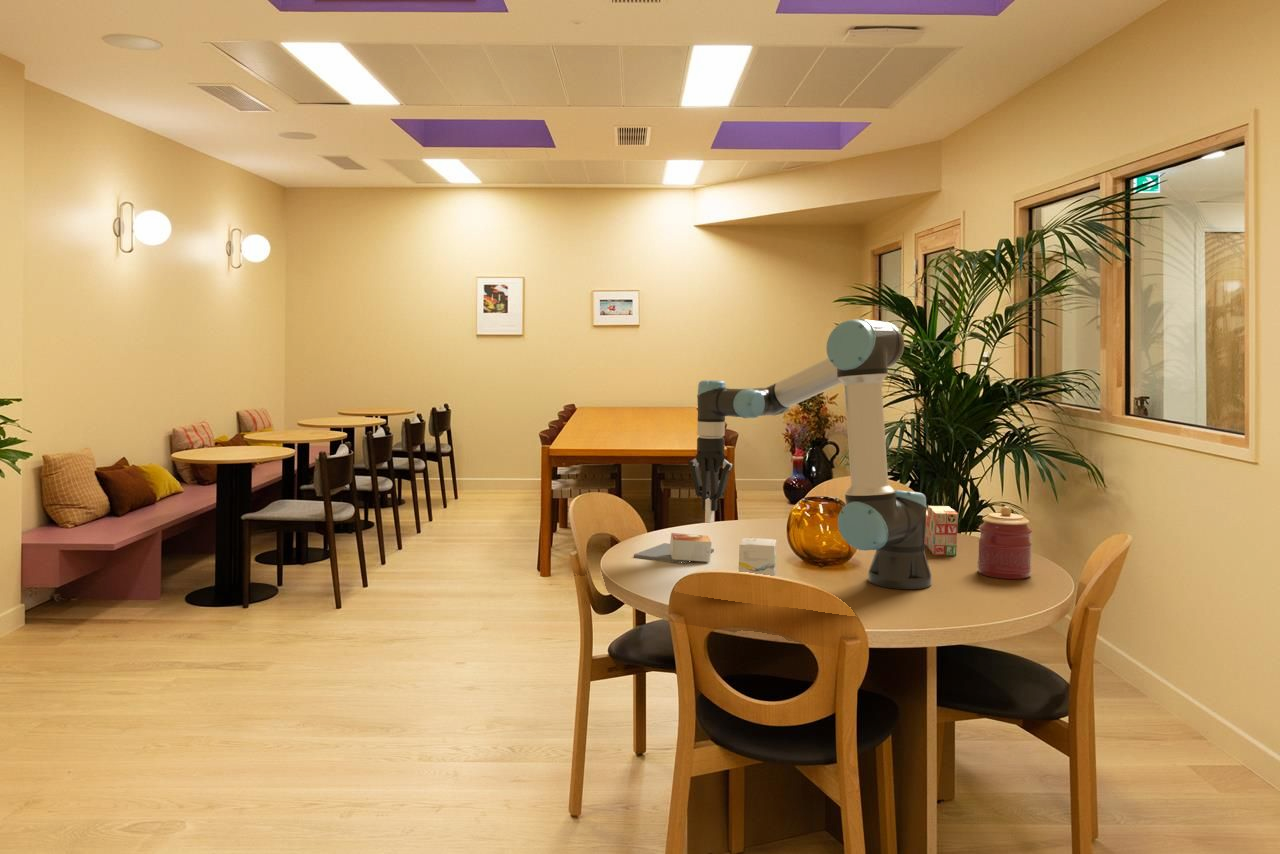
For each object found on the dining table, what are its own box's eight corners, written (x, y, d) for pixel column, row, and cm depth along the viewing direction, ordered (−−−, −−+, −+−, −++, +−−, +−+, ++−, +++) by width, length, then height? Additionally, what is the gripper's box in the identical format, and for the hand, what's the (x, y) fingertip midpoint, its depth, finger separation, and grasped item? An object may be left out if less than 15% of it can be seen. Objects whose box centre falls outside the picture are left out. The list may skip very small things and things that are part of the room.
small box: (712, 542, 252) (673, 539, 251) (710, 562, 252) (671, 559, 252) (708, 534, 259) (670, 532, 259) (706, 554, 260) (669, 551, 259)
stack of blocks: (921, 540, 286) (922, 500, 285) (942, 541, 285) (943, 501, 284) (934, 555, 264) (935, 512, 263) (957, 556, 264) (958, 512, 263)
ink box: (774, 594, 220) (774, 545, 219) (737, 592, 222) (738, 543, 221) (776, 585, 228) (776, 538, 228) (741, 583, 230) (741, 537, 229)
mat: (713, 551, 267) (713, 548, 267) (685, 563, 251) (685, 560, 251) (664, 545, 275) (664, 543, 275) (633, 557, 259) (633, 554, 259)
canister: (966, 570, 246) (968, 503, 244) (1005, 566, 250) (1007, 501, 249) (1001, 581, 233) (1004, 511, 232) (1042, 577, 238) (1045, 509, 237)
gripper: (738, 437, 255) (736, 522, 257) (695, 434, 262) (694, 517, 264) (727, 439, 249) (725, 526, 251) (683, 436, 255) (682, 522, 257)
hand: (709, 522), depth 257 cm, fingers closed
